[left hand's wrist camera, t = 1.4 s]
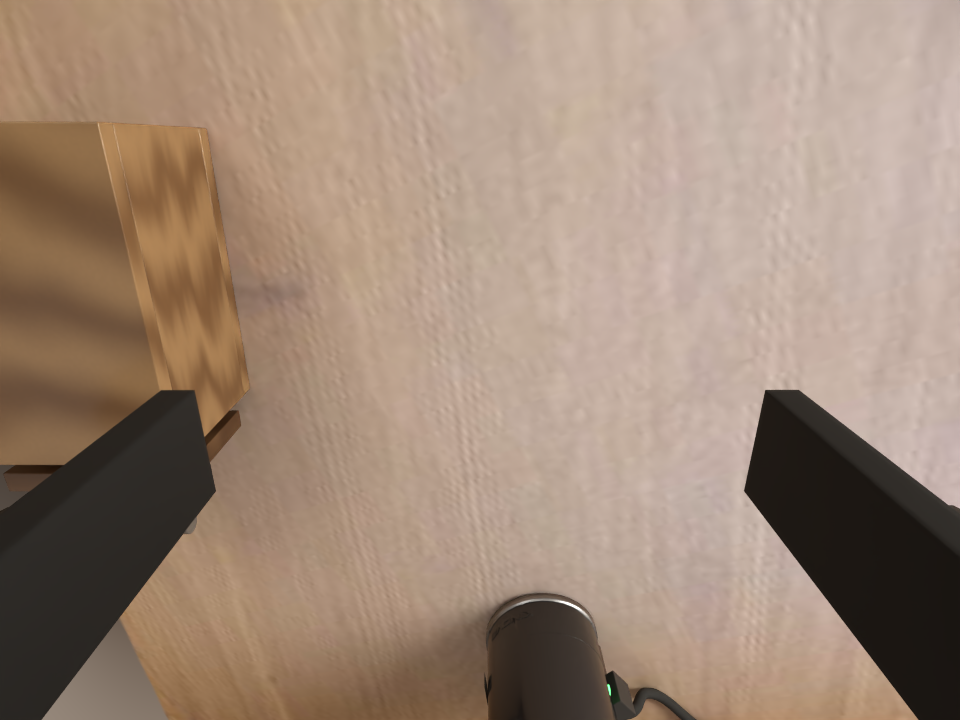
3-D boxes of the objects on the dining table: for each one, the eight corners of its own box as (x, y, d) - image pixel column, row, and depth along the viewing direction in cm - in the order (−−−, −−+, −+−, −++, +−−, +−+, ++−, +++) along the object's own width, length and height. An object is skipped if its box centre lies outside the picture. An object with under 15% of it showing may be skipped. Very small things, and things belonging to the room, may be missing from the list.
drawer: (253, 492, 41) (203, 569, 33) (118, 491, 41) (38, 568, 33) (200, 195, 33) (119, 209, 25) (32, 194, 33) (-97, 209, 25)
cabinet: (250, 388, 39) (178, 465, 29) (91, 388, 39) (-32, 465, 29) (206, 128, 32) (97, 121, 23) (16, 127, 32) (-169, 121, 23)
